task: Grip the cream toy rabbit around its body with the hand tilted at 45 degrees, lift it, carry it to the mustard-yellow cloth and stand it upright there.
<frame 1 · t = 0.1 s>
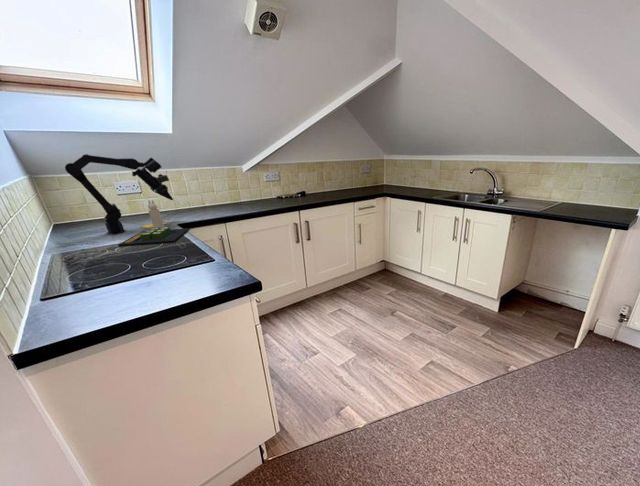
hand: (170, 198, 185), 15 cm above the worktop, tool tilted 35°, fingers open, 9 cm apart
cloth: (154, 225, 185), on the worktop
sushi: (157, 237, 160), on the worktop
toy rabbit: (159, 228, 178), on the worktop
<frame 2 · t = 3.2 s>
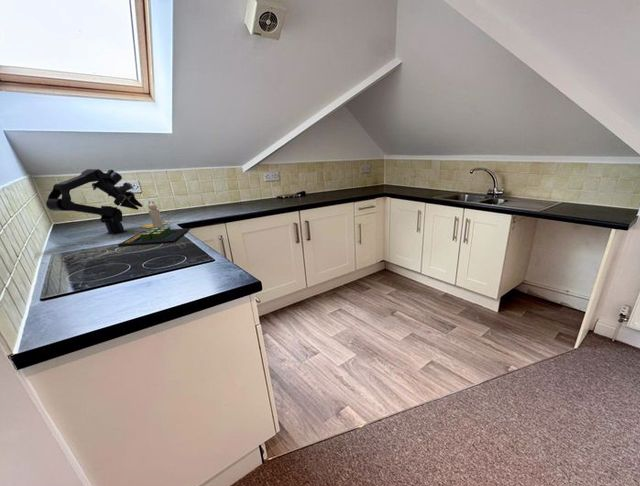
hand: (140, 207, 173), 12 cm above the worktop, tool tilted 45°, fingers open, 9 cm apart
nothing on the worktop moved.
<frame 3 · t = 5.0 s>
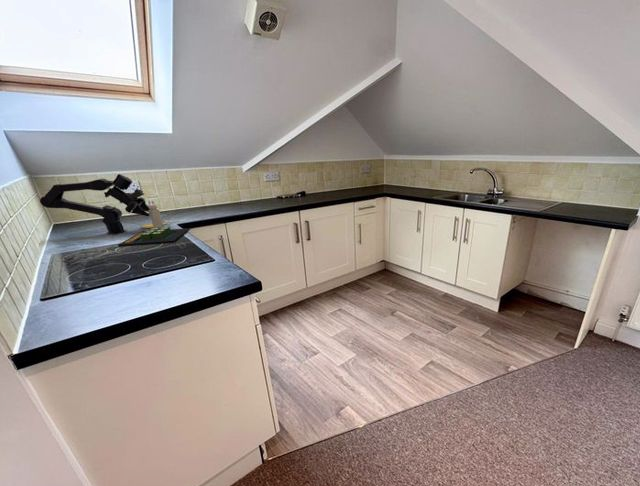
hand: (151, 214, 174), 9 cm above the worktop, tool tilted 45°, fingers open, 9 cm apart
nothing on the worktop moved.
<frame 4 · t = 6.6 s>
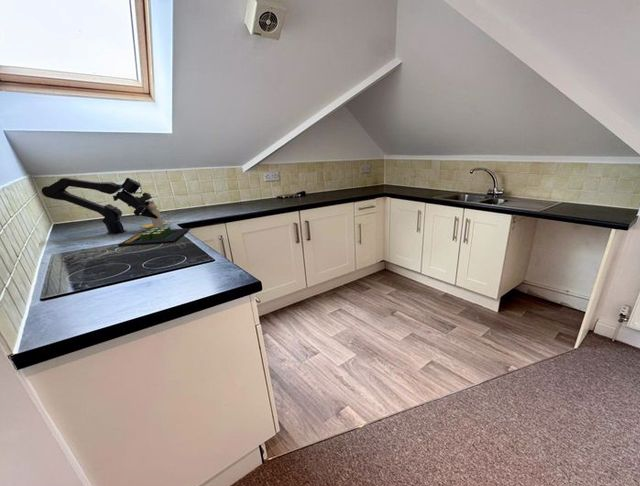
hand: (158, 217, 176), 7 cm above the worktop, tool tilted 45°, fingers closed on toy rabbit, 5 cm apart
toy rabbit: (159, 228, 178), on the worktop, touching gripper
everything else where it was.
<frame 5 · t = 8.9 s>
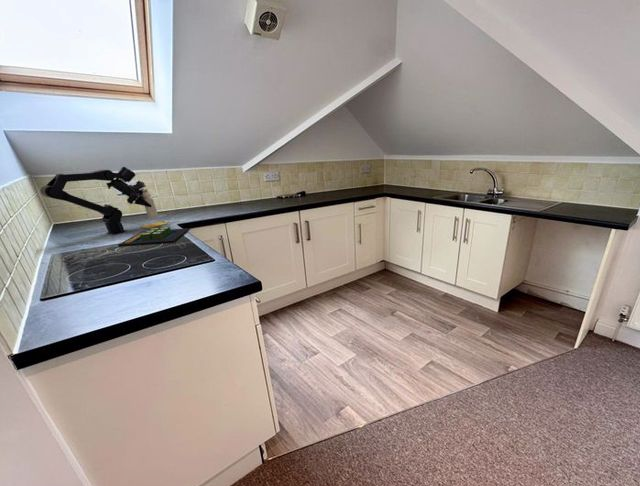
hand: (152, 205, 177), 13 cm above the worktop, tool tilted 45°, fingers closed on toy rabbit, 5 cm apart
toy rabbit: (153, 216, 180), point 6 cm above the worktop, touching gripper
everything else where it was.
when the fingers open (7 cm above the worktop, at t = 11.5 s): toy rabbit stays where it is, resting on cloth.
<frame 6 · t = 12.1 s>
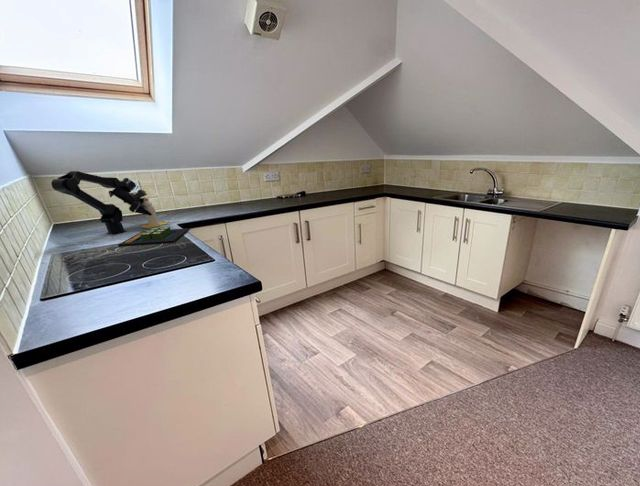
hand: (153, 213, 182), 7 cm above the worktop, tool tilted 45°, fingers open, 9 cm apart
toy rabbit: (154, 224, 185), resting on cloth
everything else where it was.
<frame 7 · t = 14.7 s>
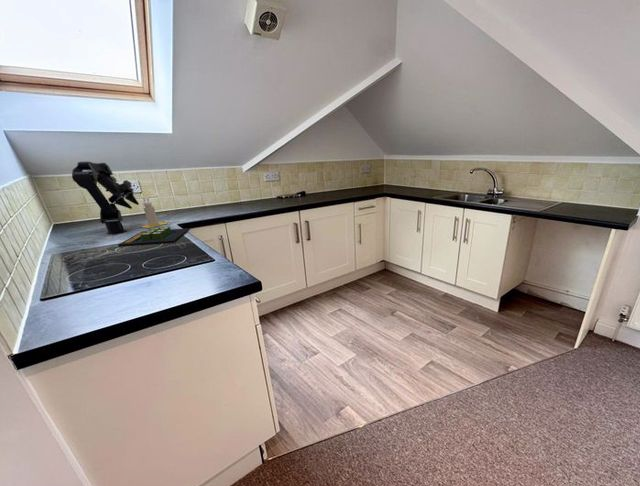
hand: (135, 206, 178), 12 cm above the worktop, tool tilted 35°, fingers open, 9 cm apart
nothing on the worktop moved.
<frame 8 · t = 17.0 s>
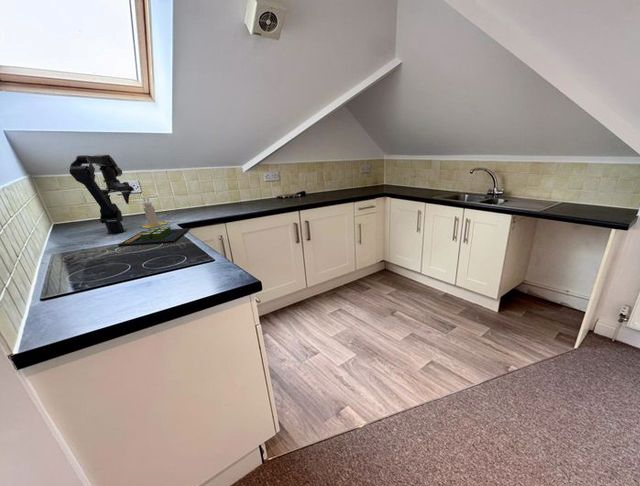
hand: (119, 205, 179), 13 cm above the worktop, tool pointing down, fingers open, 9 cm apart
nothing on the worktop moved.
at the end: toy rabbit inside the target area on the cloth (0.1 cm from its centre), point 0.4 cm above the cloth's base; toy rabbit tilted 0°; the gripper is holding nothing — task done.
